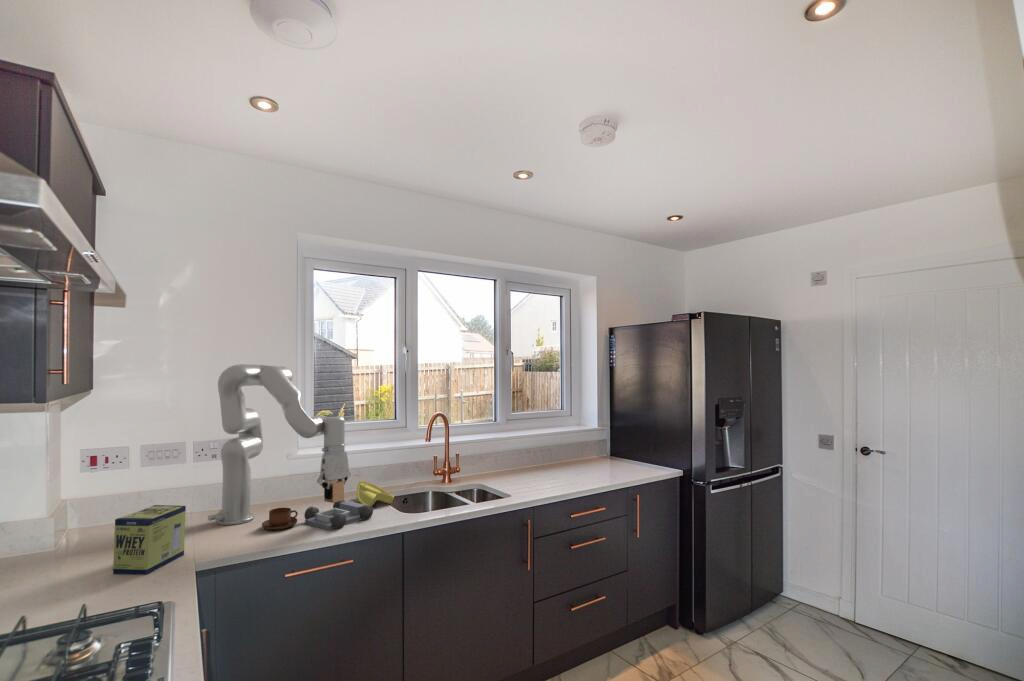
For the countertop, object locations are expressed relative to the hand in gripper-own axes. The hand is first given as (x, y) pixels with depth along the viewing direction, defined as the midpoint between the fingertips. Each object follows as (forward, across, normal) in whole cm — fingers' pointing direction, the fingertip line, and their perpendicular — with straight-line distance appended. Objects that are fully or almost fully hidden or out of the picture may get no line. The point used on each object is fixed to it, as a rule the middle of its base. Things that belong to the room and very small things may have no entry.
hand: (334, 496), depth 191 cm
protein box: (+9, -56, +12) cm, 58 cm away
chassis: (+10, +3, 0) cm, 10 cm away
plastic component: (+10, +29, +10) cm, 32 cm away
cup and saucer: (+10, -15, +12) cm, 21 cm away
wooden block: (+2, 0, 0) cm, 2 cm away
